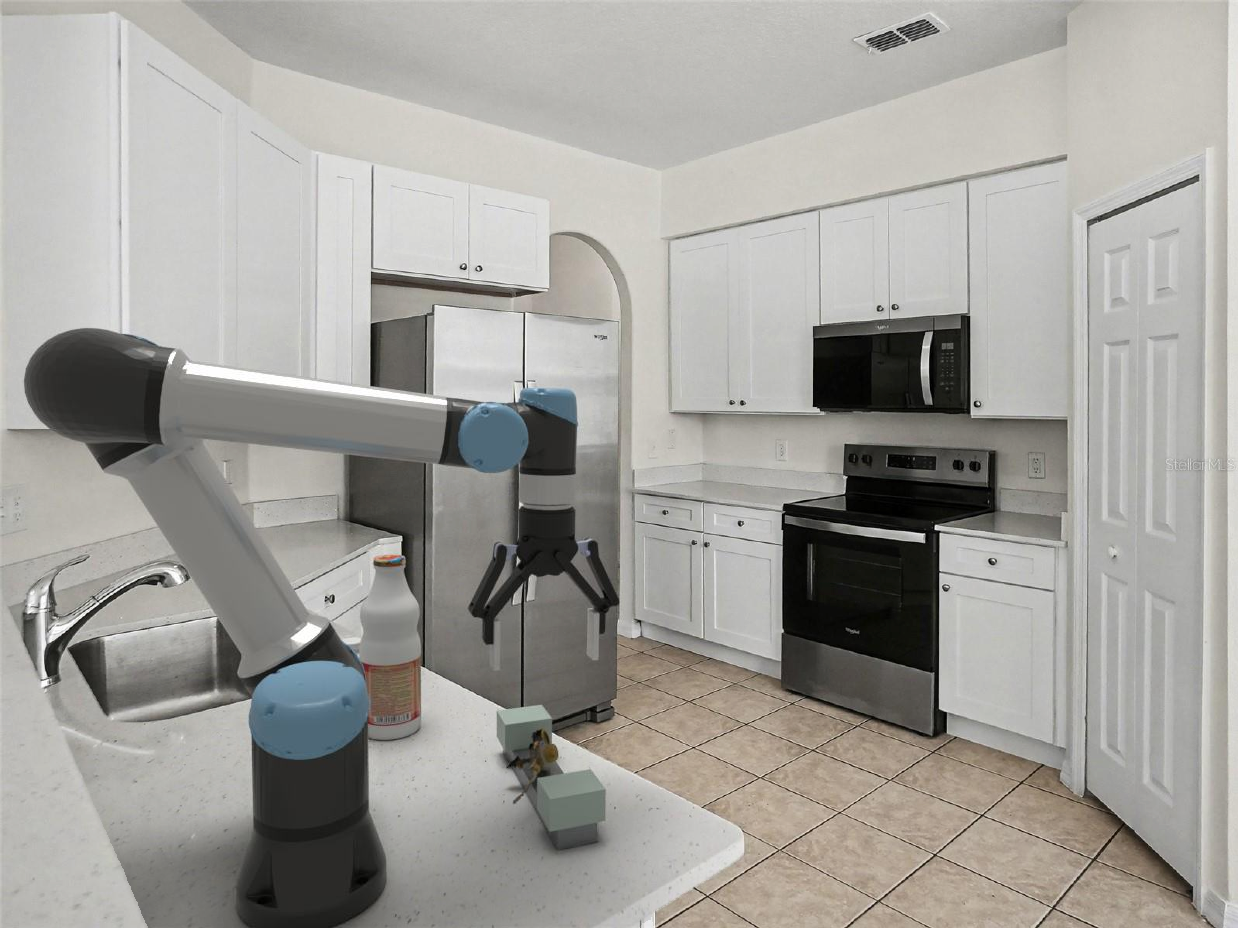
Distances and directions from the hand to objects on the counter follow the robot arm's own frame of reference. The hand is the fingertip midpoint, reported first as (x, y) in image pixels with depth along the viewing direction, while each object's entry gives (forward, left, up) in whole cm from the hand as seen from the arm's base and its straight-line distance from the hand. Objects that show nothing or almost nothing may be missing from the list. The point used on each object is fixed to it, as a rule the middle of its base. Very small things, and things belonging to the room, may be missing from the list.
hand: (544, 662), depth 107 cm
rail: (0, 0, -18) cm, 18 cm away
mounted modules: (0, 0, -16) cm, 16 cm away
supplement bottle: (-22, +46, -18) cm, 54 cm away
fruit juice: (-17, +28, -18) cm, 38 cm away
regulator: (-1, 0, -16) cm, 16 cm away
